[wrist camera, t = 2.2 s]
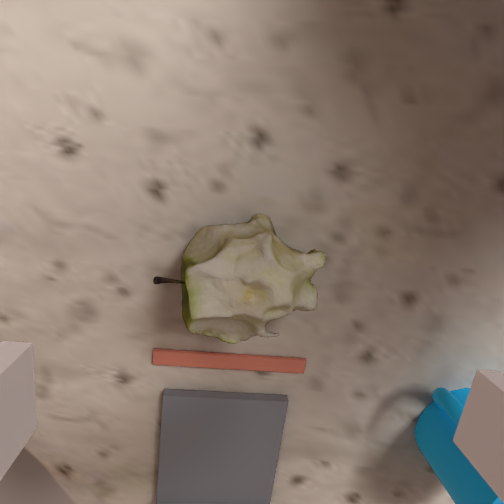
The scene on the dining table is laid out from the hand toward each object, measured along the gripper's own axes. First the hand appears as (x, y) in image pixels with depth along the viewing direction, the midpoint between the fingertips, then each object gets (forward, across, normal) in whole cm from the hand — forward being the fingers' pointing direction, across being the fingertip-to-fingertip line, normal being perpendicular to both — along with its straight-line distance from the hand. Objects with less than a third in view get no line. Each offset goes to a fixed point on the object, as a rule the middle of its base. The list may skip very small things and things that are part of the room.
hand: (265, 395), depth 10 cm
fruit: (+15, 0, -1) cm, 15 cm away
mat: (+15, 0, -18) cm, 23 cm away
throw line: (+15, 0, -9) cm, 17 cm away
